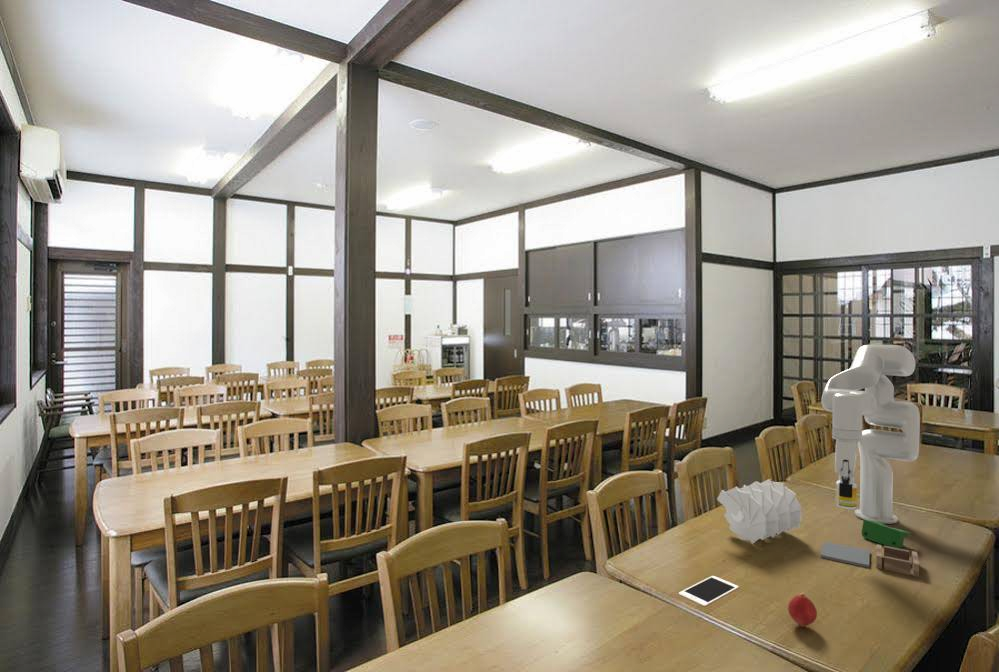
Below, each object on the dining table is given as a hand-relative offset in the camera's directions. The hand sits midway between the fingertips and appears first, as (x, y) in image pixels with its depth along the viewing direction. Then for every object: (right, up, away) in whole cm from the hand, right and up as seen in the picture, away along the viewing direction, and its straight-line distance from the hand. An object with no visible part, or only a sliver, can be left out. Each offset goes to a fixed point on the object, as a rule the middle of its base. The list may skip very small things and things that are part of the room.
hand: (846, 493), depth 161 cm
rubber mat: (0, -19, +1) cm, 19 cm away
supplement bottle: (0, -4, 0) cm, 4 cm away
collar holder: (+10, -19, -7) cm, 23 cm away
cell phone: (-49, -20, -20) cm, 57 cm away
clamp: (+19, -19, +10) cm, 28 cm away
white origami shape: (-18, -19, +16) cm, 30 cm away
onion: (-34, -20, -37) cm, 54 cm away
